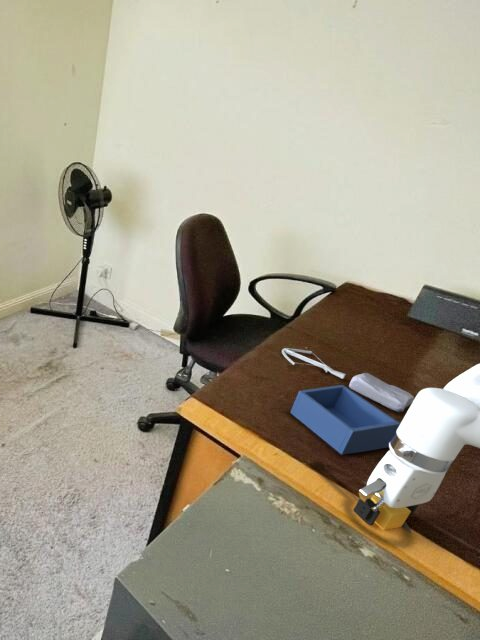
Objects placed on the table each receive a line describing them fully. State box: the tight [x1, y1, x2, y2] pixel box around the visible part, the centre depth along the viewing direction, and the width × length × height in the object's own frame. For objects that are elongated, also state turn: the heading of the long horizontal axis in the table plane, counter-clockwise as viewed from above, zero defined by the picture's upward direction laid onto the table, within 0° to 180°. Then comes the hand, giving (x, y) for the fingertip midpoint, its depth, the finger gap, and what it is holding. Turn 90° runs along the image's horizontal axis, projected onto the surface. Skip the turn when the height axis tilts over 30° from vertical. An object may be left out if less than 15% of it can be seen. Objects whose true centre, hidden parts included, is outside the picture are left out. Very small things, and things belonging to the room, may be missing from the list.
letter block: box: [371, 491, 411, 531], centre depth 81 cm, size 4×4×4 cm
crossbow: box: [281, 347, 347, 380], centre depth 127 cm, size 16×13×2 cm
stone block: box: [348, 372, 415, 413], centre depth 114 cm, size 12×5×10 cm
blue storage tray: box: [289, 384, 401, 455], centre depth 102 cm, size 14×14×8 cm
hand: (381, 513), depth 81 cm, fingers open, 8 cm apart
